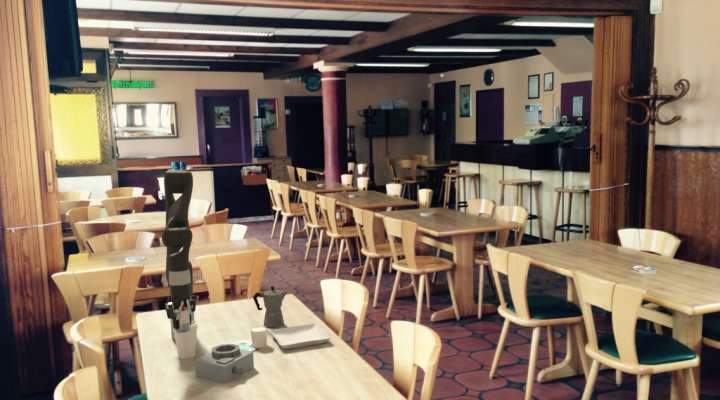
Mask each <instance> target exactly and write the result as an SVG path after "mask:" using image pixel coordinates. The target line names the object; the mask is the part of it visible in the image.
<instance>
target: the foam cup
mask: <svg viewBox="0 0 720 400" xmlns="http://www.w3.org/2000/svg"><path fill="white" fill-rule="evenodd" d="M173 332H174V336H175V345H176V350H177V351H176V352H177V355H178V358H179V359H185V360H186V359H187V360H188V359H191V358H193V357H195V356H196V347H197V336H198V335H197V334H198V322H197V321H196V320H195V321H192V320H191V324H190V331H188V332H185V333H177V332H175V329H174V328H173Z"/></svg>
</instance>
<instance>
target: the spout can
mask: <svg viewBox="0 0 720 400" xmlns="http://www.w3.org/2000/svg"><path fill="white" fill-rule="evenodd" d="M176 311H178V310H176ZM175 316H176V313H175ZM179 326H180V329H178V330H176V329H175V332H177V333H185V332H188V331H190V319H189V309H187V308H186V306H184V307H182V310H181V313H180V315H179Z"/></svg>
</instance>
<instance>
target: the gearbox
mask: <svg viewBox="0 0 720 400" xmlns="http://www.w3.org/2000/svg"><path fill="white" fill-rule="evenodd" d="M254 360H255V359H254V351H250V350H246V349H240V345H239V344H235V343H222V344H218V345H216V346H214V347H212V348H211V352H209V353H207V354H205V355H202V356H200V357H199V358H198V357H197V358H196V359H194V371H195V373H194V374H195V377H197V378H202V379H207V380H211V381H216V382H221V383H223V384H224V383H225V384H226V383H228V382H229V381H231V380H233V379H235V378H236V377H238V376H242V374H244V373H246V372H248V371H250V370H252V369H254V368H255V364H254V363H255V361H254Z"/></svg>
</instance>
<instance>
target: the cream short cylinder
mask: <svg viewBox="0 0 720 400" xmlns="http://www.w3.org/2000/svg"><path fill="white" fill-rule="evenodd" d="M249 331H250V336H251V343H252V344H251V345H252V347H253V348H254V347H256V348H255V349H262V348H265V347H267V345H268V343H267V342H268V341H267V340H268V328H267V327H265V326H256V327H252V328H250V330H249Z"/></svg>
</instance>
